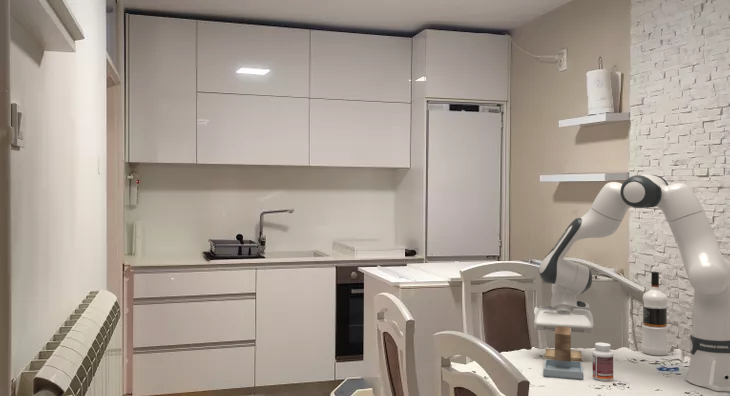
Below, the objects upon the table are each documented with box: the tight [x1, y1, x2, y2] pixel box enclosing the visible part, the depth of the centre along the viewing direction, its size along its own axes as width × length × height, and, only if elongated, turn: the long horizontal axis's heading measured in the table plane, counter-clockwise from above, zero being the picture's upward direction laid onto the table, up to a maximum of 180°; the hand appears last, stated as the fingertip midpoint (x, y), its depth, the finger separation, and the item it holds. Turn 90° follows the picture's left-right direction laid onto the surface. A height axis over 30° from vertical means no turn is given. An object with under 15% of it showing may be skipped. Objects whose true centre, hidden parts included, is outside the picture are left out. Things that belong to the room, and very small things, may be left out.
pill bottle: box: [592, 342, 614, 382], centre depth 200 cm, size 6×6×11 cm
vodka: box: [640, 271, 669, 357], centre depth 232 cm, size 9×9×30 cm
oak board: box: [544, 348, 583, 363], centre depth 218 cm, size 12×10×4 cm
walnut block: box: [554, 326, 572, 361], centre depth 213 cm, size 5×9×9 cm, turn 162°
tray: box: [543, 358, 584, 381], centre depth 206 cm, size 12×13×2 cm
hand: (563, 340), depth 218 cm, fingers closed
